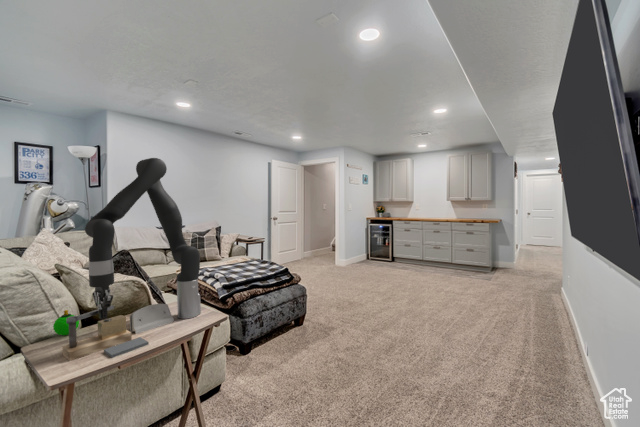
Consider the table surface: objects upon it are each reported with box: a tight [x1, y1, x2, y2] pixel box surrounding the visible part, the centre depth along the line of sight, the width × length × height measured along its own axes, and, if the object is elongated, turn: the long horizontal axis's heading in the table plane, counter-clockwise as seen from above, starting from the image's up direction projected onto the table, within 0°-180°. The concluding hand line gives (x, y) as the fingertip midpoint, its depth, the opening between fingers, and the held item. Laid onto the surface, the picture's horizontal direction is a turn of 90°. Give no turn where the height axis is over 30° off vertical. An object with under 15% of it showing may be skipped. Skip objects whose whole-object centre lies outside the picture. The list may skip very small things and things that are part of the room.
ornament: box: [52, 309, 80, 336], centre depth 121 cm, size 8×8×10 cm
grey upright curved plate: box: [129, 303, 175, 335], centre depth 129 cm, size 17×5×10 cm, turn 146°
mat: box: [103, 336, 149, 359], centre depth 109 cm, size 12×7×1 cm, turn 144°
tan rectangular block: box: [97, 314, 127, 340], centre depth 114 cm, size 8×4×6 cm, turn 144°
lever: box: [66, 304, 115, 324], centre depth 110 cm, size 16×3×2 cm, turn 159°
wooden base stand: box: [62, 322, 133, 362], centre depth 110 cm, size 19×8×12 cm, turn 144°
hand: (103, 318), depth 111 cm, fingers closed
